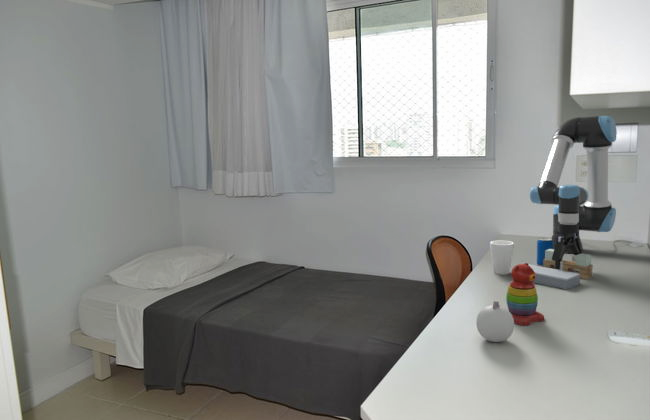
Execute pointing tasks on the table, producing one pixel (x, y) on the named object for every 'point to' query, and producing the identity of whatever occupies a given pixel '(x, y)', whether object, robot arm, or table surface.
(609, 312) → the table surface
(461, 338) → the table surface
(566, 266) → the tan wooden bar
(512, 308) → the stacking bear
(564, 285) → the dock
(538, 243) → the beverage can
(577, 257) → the block
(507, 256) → the foam cup
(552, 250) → the block
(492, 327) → the ornament
